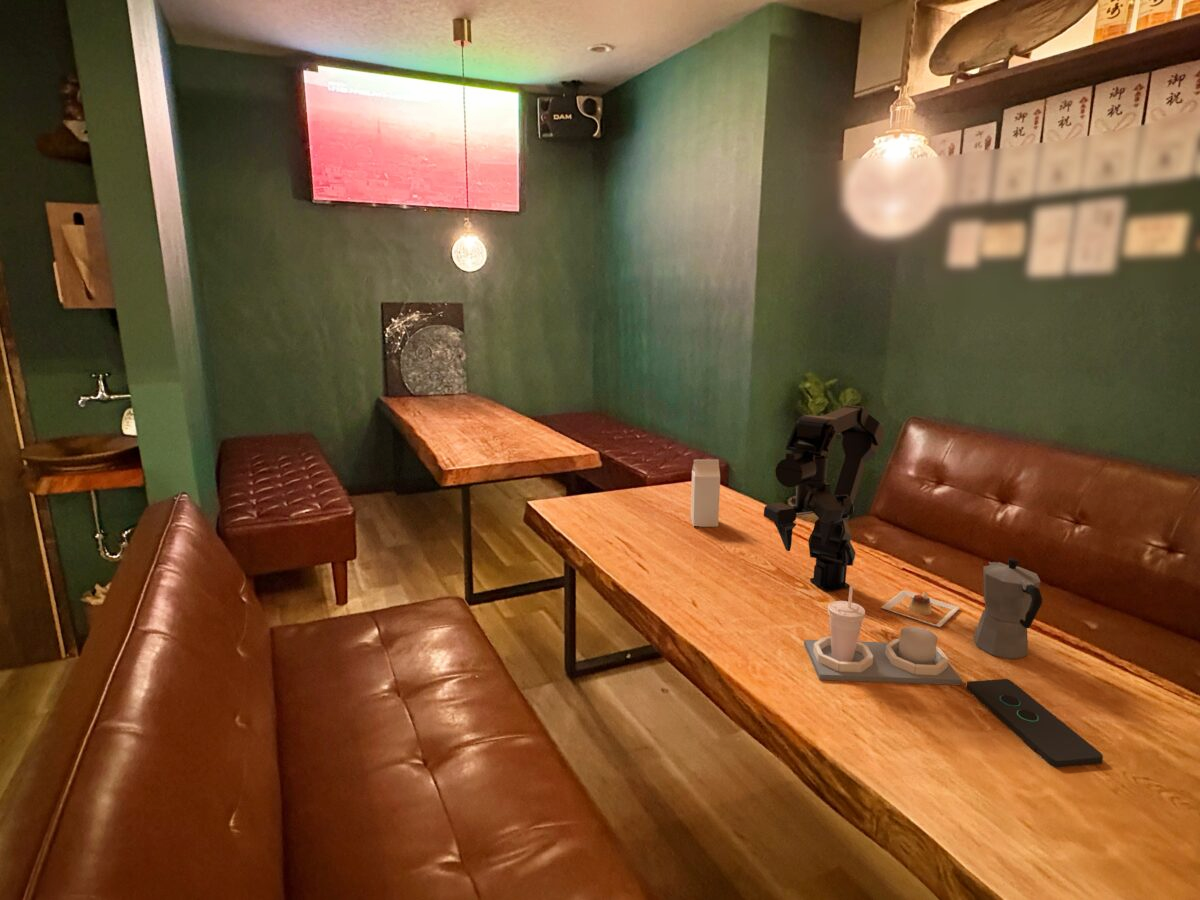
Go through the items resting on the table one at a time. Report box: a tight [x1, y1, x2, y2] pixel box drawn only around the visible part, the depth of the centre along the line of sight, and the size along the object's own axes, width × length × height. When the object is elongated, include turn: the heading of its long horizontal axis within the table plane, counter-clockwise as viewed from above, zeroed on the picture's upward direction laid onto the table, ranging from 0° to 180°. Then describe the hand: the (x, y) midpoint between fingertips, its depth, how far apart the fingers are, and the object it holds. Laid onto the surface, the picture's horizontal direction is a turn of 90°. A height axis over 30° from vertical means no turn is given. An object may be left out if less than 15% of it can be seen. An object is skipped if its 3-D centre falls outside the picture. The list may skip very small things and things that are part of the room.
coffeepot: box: [973, 557, 1043, 660], centre depth 125 cm, size 15×9×18 cm, turn 179°
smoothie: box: [827, 584, 866, 662], centre depth 121 cm, size 6×6×14 cm
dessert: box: [881, 589, 961, 628], centre depth 142 cm, size 12×12×5 cm
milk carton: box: [690, 459, 721, 528], centre depth 193 cm, size 7×7×19 cm
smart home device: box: [966, 678, 1104, 769], centre depth 106 cm, size 8×2×20 cm
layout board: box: [803, 626, 963, 686], centre depth 122 cm, size 24×12×6 cm, turn 86°
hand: (806, 547), depth 142 cm, fingers open, 9 cm apart
